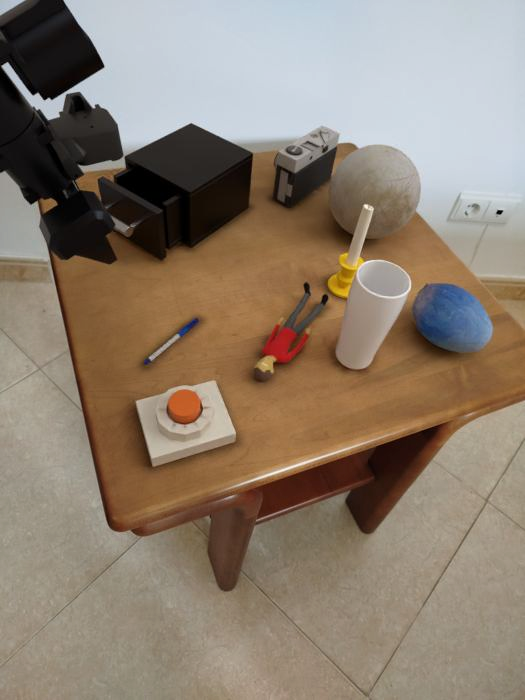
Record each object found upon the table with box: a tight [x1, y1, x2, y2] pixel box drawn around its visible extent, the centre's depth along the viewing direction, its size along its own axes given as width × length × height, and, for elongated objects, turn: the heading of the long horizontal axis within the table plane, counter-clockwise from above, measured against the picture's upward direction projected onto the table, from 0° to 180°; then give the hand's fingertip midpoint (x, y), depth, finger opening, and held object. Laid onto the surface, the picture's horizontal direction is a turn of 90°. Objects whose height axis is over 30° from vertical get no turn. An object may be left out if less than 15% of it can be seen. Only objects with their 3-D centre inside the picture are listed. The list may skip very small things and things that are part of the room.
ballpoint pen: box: [143, 317, 200, 365], centre depth 67 cm, size 10×1×1 cm, turn 145°
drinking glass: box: [335, 259, 412, 371], centre depth 63 cm, size 7×7×15 cm
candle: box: [327, 203, 374, 299], centre depth 71 cm, size 5×5×16 cm
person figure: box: [252, 281, 330, 382], centre depth 68 cm, size 5×4×18 cm
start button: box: [168, 389, 200, 424], centre depth 56 cm, size 4×4×2 cm
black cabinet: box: [123, 122, 254, 249], centre depth 82 cm, size 16×14×11 cm
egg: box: [411, 282, 494, 354], centre depth 70 cm, size 9×9×15 cm
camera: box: [272, 125, 341, 209], centre depth 90 cm, size 14×8×10 cm, turn 141°
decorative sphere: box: [328, 144, 422, 240], centre depth 81 cm, size 15×15×15 cm
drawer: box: [96, 165, 187, 262], centre depth 77 cm, size 18×12×9 cm
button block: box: [135, 379, 237, 468], centre depth 58 cm, size 10×8×4 cm
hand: (100, 237), depth 57 cm, fingers open, 9 cm apart
